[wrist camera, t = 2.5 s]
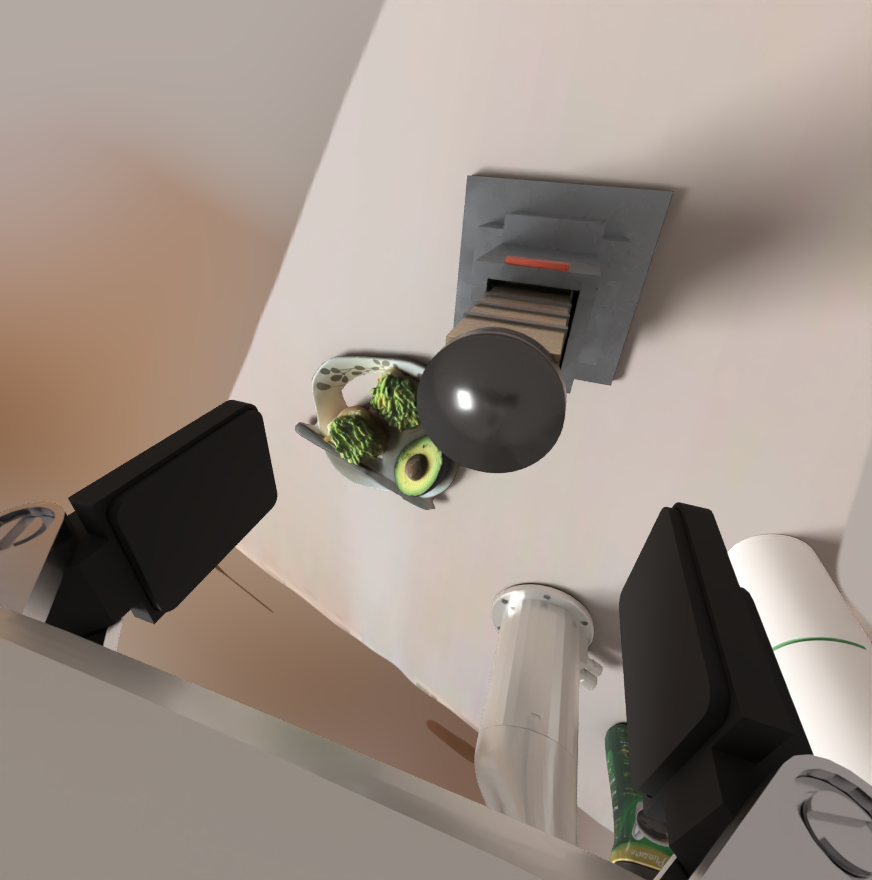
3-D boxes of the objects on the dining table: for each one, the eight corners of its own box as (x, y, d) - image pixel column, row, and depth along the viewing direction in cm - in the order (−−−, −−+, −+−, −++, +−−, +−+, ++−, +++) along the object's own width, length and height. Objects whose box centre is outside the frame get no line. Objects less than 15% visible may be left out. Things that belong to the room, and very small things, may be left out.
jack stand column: (586, 256, 30) (583, 352, 12) (569, 326, 33) (546, 487, 15) (516, 248, 31) (420, 325, 14) (505, 316, 34) (413, 455, 16)
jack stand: (670, 191, 28) (720, 192, 17) (610, 380, 36) (619, 462, 25) (470, 175, 31) (409, 168, 21) (453, 353, 39) (402, 415, 28)
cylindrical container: (765, 599, 42) (934, 994, 21) (707, 561, 41) (821, 921, 21) (837, 564, 37) (1134, 1011, 17) (773, 521, 37) (994, 921, 17)
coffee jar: (601, 742, 63) (605, 919, 48) (609, 715, 59) (616, 897, 44) (672, 763, 60) (701, 958, 45) (686, 736, 56) (722, 939, 41)
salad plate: (314, 476, 53) (293, 498, 50) (288, 341, 44) (260, 355, 40) (459, 506, 48) (448, 533, 45) (465, 360, 39) (451, 379, 35)
